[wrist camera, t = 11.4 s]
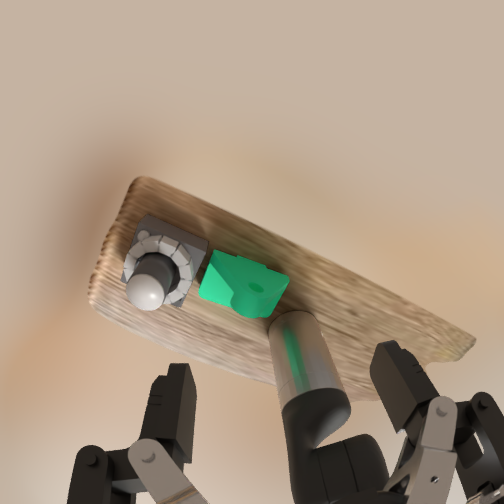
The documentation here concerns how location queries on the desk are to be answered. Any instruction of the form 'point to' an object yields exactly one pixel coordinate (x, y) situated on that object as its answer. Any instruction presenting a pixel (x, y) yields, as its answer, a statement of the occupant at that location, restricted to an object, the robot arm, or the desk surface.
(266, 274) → the camera mount
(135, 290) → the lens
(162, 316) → the desk surface
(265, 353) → the desk surface
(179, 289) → the segmented ring socket plate
